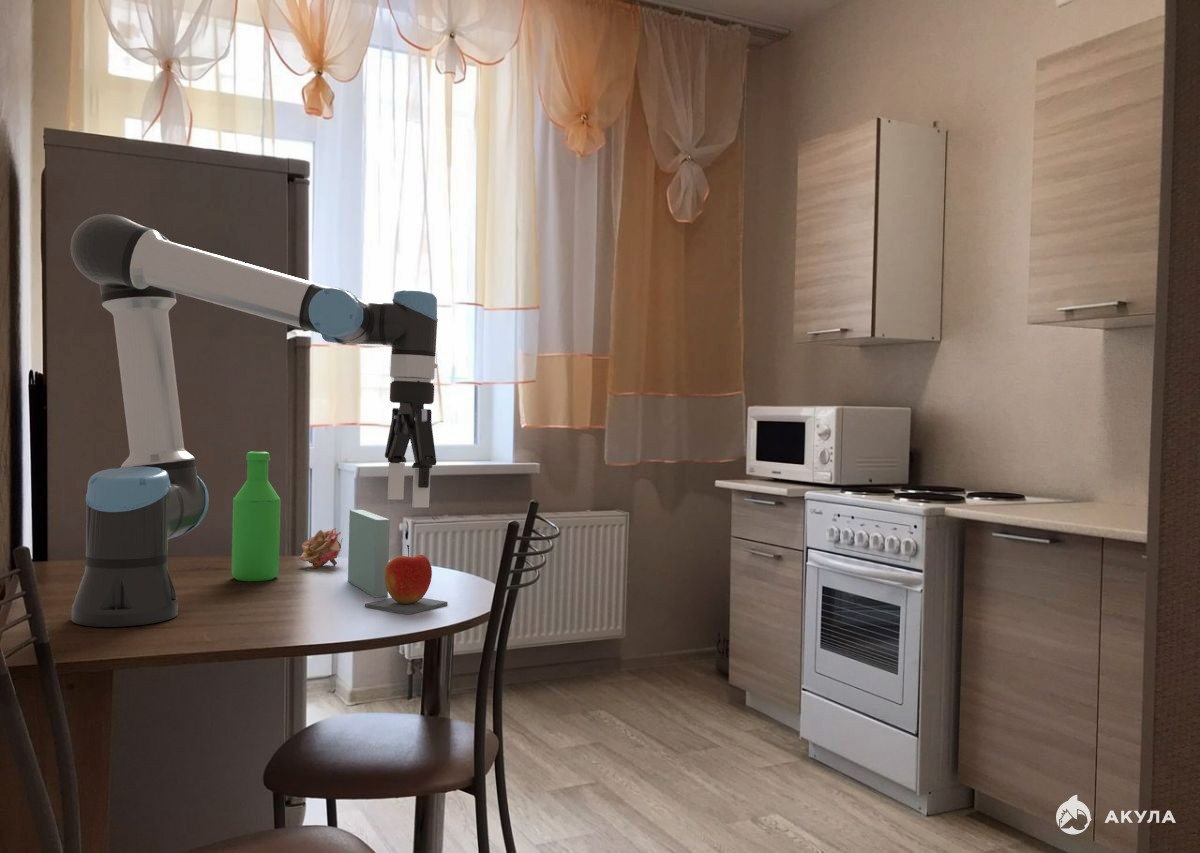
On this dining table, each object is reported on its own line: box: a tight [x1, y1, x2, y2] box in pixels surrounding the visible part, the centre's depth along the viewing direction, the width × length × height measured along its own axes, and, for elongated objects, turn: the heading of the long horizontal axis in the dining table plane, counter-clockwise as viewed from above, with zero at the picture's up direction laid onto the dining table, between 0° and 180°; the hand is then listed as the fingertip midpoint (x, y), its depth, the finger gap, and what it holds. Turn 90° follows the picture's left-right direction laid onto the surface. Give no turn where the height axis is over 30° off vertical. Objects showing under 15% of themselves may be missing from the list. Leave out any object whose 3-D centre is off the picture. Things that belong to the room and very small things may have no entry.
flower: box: [299, 527, 344, 569], centre depth 207 cm, size 10×9×8 cm
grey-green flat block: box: [347, 509, 391, 598], centre depth 184 cm, size 18×3×14 cm, turn 30°
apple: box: [385, 544, 433, 604], centre depth 168 cm, size 8×8×10 cm
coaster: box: [364, 597, 448, 615], centre depth 168 cm, size 10×10×1 cm
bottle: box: [231, 450, 282, 582], centre depth 191 cm, size 9×9×25 cm
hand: (407, 503), depth 168 cm, fingers open, 13 cm apart
